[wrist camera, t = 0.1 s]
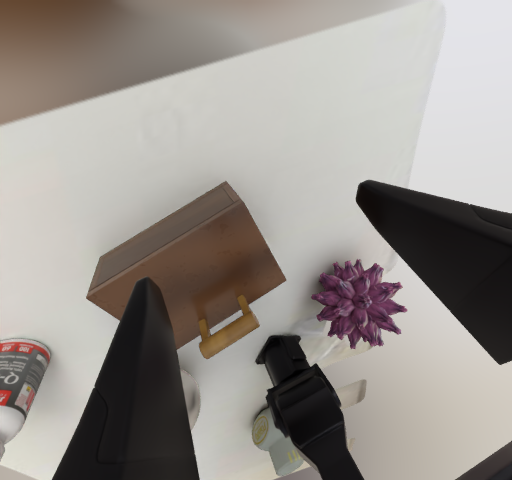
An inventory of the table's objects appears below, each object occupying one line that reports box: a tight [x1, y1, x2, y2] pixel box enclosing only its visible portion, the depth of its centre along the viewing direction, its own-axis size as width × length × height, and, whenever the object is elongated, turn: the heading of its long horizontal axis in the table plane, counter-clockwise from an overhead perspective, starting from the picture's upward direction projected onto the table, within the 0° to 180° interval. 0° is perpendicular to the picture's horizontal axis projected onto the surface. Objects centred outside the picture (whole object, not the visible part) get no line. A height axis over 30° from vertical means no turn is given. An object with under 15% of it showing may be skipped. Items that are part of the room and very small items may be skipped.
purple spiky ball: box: [311, 259, 407, 349], centre depth 32 cm, size 12×12×12 cm
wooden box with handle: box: [86, 199, 286, 359], centre depth 21 cm, size 11×14×5 cm
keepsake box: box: [88, 181, 241, 292], centre depth 24 cm, size 10×14×5 cm
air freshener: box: [252, 408, 304, 476], centre depth 49 cm, size 11×8×10 cm
